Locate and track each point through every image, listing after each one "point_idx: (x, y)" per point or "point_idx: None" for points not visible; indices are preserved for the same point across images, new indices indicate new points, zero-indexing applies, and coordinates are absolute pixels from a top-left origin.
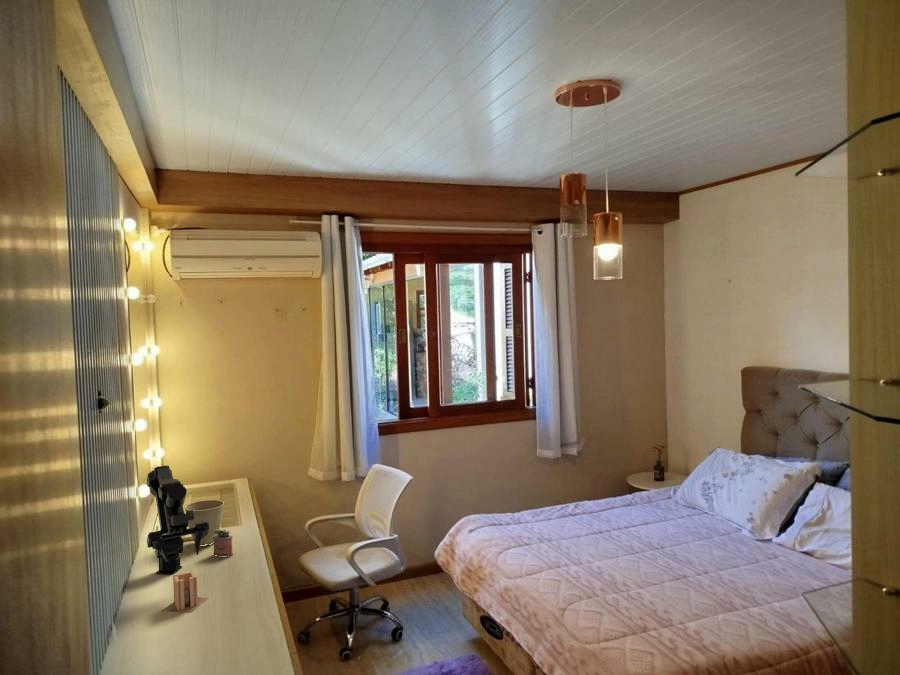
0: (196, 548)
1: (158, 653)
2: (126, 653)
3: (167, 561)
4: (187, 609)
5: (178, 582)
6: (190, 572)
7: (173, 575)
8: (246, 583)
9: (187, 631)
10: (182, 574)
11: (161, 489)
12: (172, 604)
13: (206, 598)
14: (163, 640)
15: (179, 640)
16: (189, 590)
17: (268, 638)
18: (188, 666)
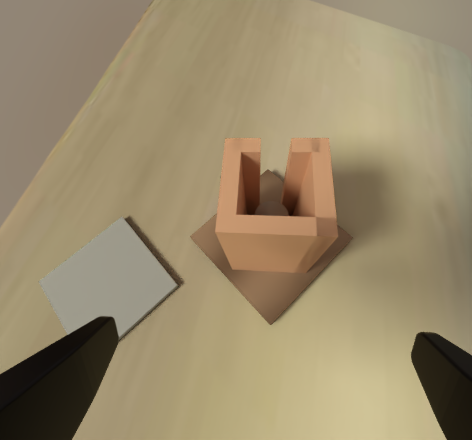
0: (68, 360)
1: (363, 54)
2: (436, 81)
3: (419, 348)
4: (272, 195)
5: (317, 142)
6: (236, 215)
7: (336, 234)
8: (40, 281)
9: (293, 102)
10: (283, 217)
11: None
12: (312, 266)
13: (198, 238)
14: (351, 93)
15: (316, 77)
16: (256, 209)
17: (168, 18)
18: (313, 3)
